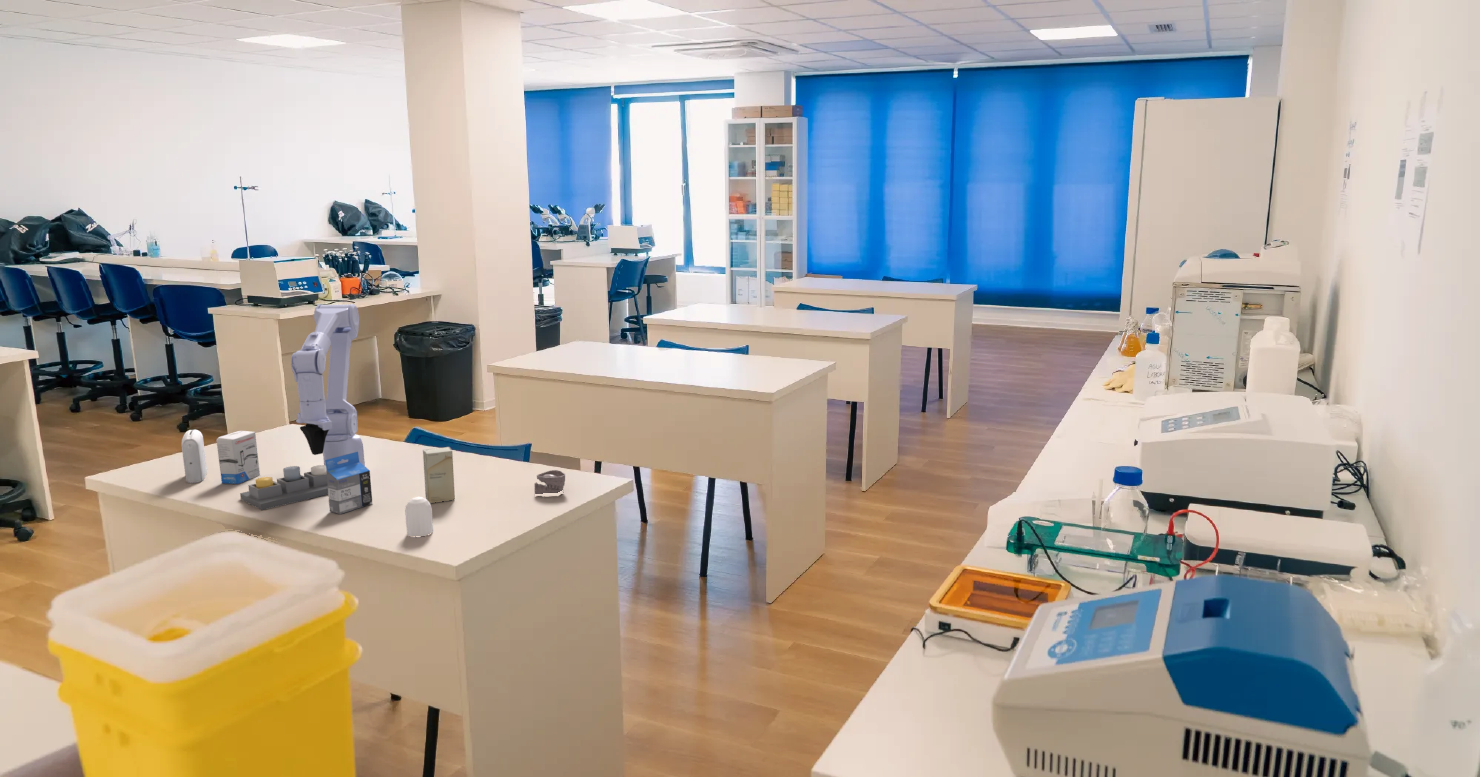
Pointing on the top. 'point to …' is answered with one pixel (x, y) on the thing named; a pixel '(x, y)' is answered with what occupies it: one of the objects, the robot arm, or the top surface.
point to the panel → (286, 491)
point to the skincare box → (438, 474)
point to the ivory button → (318, 470)
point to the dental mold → (550, 482)
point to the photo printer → (194, 456)
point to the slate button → (292, 473)
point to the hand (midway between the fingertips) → (317, 453)
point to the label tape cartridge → (348, 484)
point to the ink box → (238, 457)
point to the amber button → (264, 482)
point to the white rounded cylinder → (418, 517)
